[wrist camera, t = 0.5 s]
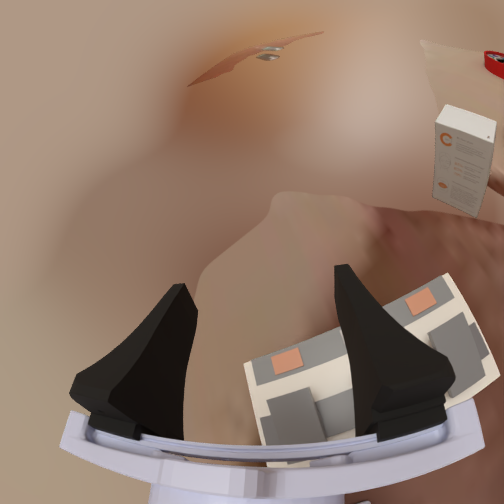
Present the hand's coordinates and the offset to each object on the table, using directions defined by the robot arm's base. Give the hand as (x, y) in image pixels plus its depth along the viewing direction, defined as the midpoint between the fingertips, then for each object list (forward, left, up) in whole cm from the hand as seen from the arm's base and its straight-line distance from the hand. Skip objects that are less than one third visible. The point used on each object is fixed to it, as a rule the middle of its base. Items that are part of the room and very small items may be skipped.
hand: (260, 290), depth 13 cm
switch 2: (-6, -13, -15) cm, 21 cm away
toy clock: (+46, -99, -20) cm, 111 cm away
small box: (+13, -29, -20) cm, 37 cm away
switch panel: (-4, -5, -19) cm, 20 cm away
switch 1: (-6, +3, -15) cm, 17 cm away
